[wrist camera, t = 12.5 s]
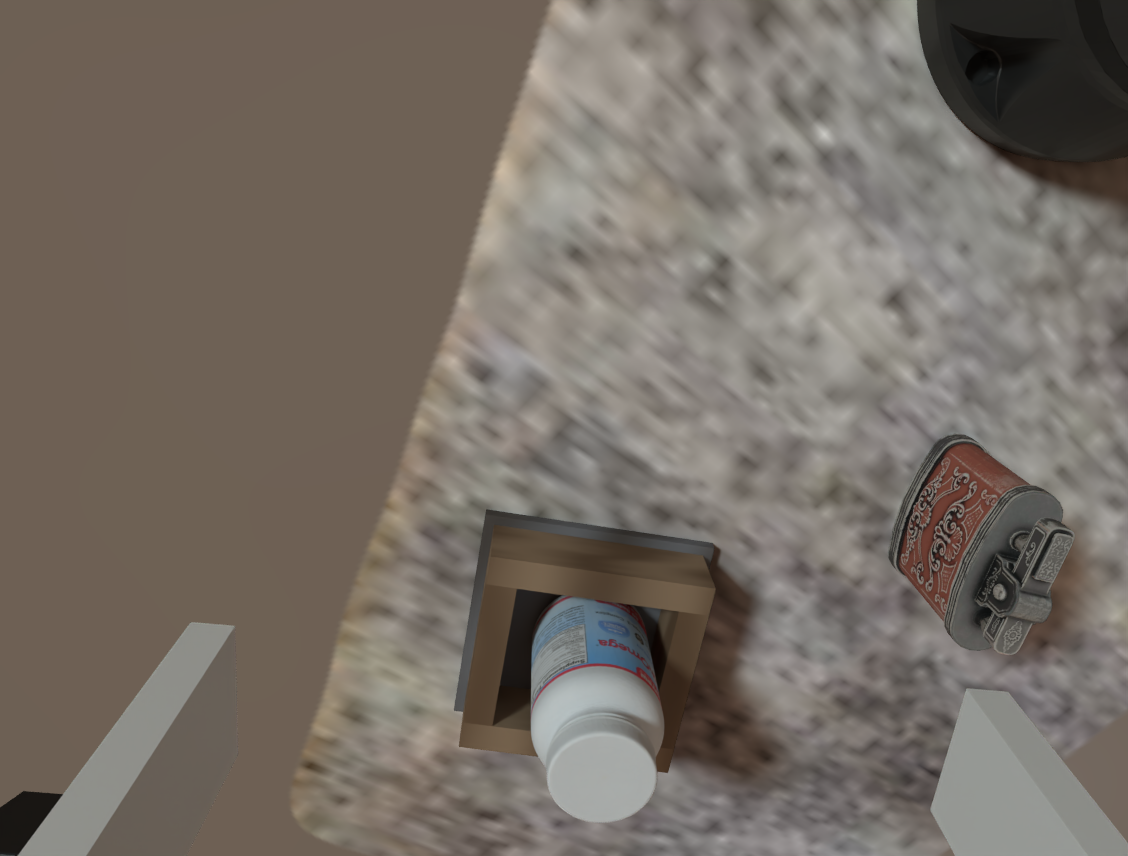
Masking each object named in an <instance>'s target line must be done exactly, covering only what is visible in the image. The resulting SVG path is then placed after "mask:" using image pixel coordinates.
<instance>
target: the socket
mask: <svg viewBox="0 0 1128 856" xmlns="http://www.w3.org/2000/svg"><path fill="white" fill-rule="evenodd" d="M713 552H714V546H713V544H712V543H708V542H701V541H694V540H688V539H681V538H674V537H667V536H661V535H654V534H647V533H640V532H634V531H627V530H620V529H614V528H607V527H600V526H593V525H587V524H580V523H573V522H566V521H560V520H553V519H546V518H539V517H533V516H526V515H519V514H513V513H506V512H499V511H492V510H486V515H485V521H484V527H483V533H482V540H481V546H480V552H479V558H478V564H477V570H476V577H475V583H474V589H473V595H472V601H471V607H470V614H469V620H468V626H467V632H466V638H465V645H464V651H463V657H462V663H461V669H460V675H459V682H458V688H457V694H456V700H455V707H454V711H461V712H463V718H462V726H461V734H460V742H459V747H465V748H473V749H481V750H489V751H497V752H505V753H513V754H521V755H529V756H537V757H538V755H537V753H536V751H535V749H534V746H533V742H532V737H531V668H532V635H533V630H534V626H535V624H536V621H537V619H538V618H539V616H540V614H541V613H542V612H543V610H544V609H545V608H546V607H547V606H548V605H549V604H550V603H552V602H553V601H554V600H555V599H557V598H558V597H560V596H561V595H566V596H573V597H580V598H587V599H594V600H601V601H608V602H615V603H622V604H629V605H633V606H634V607H635V608H636V609H637V611H638V612H639V614H640V616H641V618H642V620H643V622H644V625H645V629H646V633H647V638H648V643H649V648H650V653H651V657H652V662H653V667H654V672H655V677H656V682H657V686H658V691H659V696H660V701H661V706H662V711H663V717H664V736H663V741H662V744H661V747H660V750H659V752H658V754H657V756H656V766H657V772H665V773H668V770H669V767H670V763H671V759H672V755H673V751H674V747H675V744H676V740H677V736H678V732H679V728H680V725H681V721H682V717H683V713H684V709H685V705H686V702H687V698H688V694H689V690H690V686H691V683H692V679H693V675H694V671H695V667H696V663H697V660H698V656H699V652H700V648H701V644H702V640H703V637H704V633H705V629H706V625H707V621H708V618H709V614H710V610H711V606H712V602H713V598H714V595H715V591H716V588H715V585H714V583H713V580H712V577H711V575H710V572H709V567H710V563H711V560H712V556H713Z"/></svg>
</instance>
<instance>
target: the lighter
mask: <svg viewBox="0 0 1128 856" xmlns="http://www.w3.org/2000/svg"><path fill="white" fill-rule="evenodd" d="M1062 517H1063V509H1062V507H1061V504H1060V502H1059V501H1058V500H1057V499H1056V498H1055V497H1054V496H1053V495H1051V494H1050V493H1048V492H1047V491H1045V490H1044V489H1042V488H1039V487H1037V486H1033V485H1030V484H1029V483H1027V482H1026V481H1024V480H1023V479H1022V478H1020V477H1019V476H1017V475H1016V474H1015V473H1013V472H1012V471H1010V470H1009V469H1008V468H1006V467H1005V466H1004V465H1002V464H1001V463H999V462H998V461H997V460H995V459H994V458H992V457H991V456H990V455H988V454H987V452H986V450H985V449H984V448H983V447H982V446H981V445H980V444H979V443H978V442H976V441H975V440H974V439H972V438H970V437H968V436H966V435H962V434H952V435H947V436H945V437H943V438H941V439H939V440H938V441H937V442H936V443H935V444H934V445H933V447H932V448H931V450H930V452H929V453H928V455H927V456H926V458H925V459H924V461H923V462H922V464H921V465H920V467H919V468H918V470H917V472H916V474H915V476H914V478H913V480H912V482H911V484H910V485H909V487H908V489H907V491H906V493H905V495H904V497H903V500H902V503H901V506H900V509H899V512H898V515H897V517H896V520H895V523H894V527H893V531H892V536H891V541H890V546H889V550H888V558H889V560H890V562H891V564H892V565H893V566H894V568H895V569H896V570H897V571H898V572H899V573H900V574H901V575H902V576H903V577H906V578H908V579H909V580H910V582H911V583H912V584H913V585H914V586H915V588H916V589H917V590H918V591H919V592H920V594H921V595H922V596H923V597H924V598H925V600H926V601H927V602H928V603H929V605H930V606H931V607H932V608H933V609H934V611H935V612H936V613H937V614H938V615H939V617H940V618H941V619H942V620H943V621H944V626H945V629H946V631H947V633H948V634H949V635H950V636H951V637H952V639H953V640H954V641H955V642H956V643H957V644H958V645H959V646H961V647H963V648H965V649H968V650H976V651H980V650H985V649H989V648H991V647H993V648H994V649H995V651H996V652H998V653H1001V654H1005V655H1013V654H1015V653H1016V652H1018V651H1019V649H1020V648H1021V646H1022V644H1023V642H1024V640H1025V638H1026V636H1027V634H1028V632H1029V630H1030V628H1031V626H1032V625H1034V624H1036V623H1043V622H1044V621H1046V620H1047V618H1048V616H1049V614H1050V612H1051V610H1052V600H1051V597H1050V595H1051V592H1050V588H1051V586H1052V584H1053V582H1054V580H1055V578H1056V576H1057V574H1058V572H1059V570H1060V568H1061V566H1062V564H1063V562H1064V560H1065V558H1066V556H1067V554H1068V552H1069V550H1070V548H1071V546H1072V544H1073V541H1074V538H1075V535H1074V533H1073V531H1071V530H1070V529H1069V528H1067V527H1066V526H1065V525H1063V524H1062V523H1061V522H1062Z"/></svg>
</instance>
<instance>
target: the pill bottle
mask: <svg viewBox="0 0 1128 856" xmlns="http://www.w3.org/2000/svg"><path fill="white" fill-rule="evenodd" d="M663 736H664V717H663V711H662V706H661V701H660V696H659V691H658V686H657V682H656V677H655V672H654V667H653V662H652V657H651V653H650V648H649V643H648V638H647V633H646V629H645V625H644V622H643V620H642V618H641V616H640V614H639V612H638V611H637V609H636V608H635V607H634V606H633V605H629V604H622V603H615V602H608V601H601V600H594V599H587V598H580V597H573V596H566V595H561V596H560V597H558V598H557V599H555V600H554V601H553V602H552V603H550V604H549V605H548V606H547V607H546V608H545V609H544V610H543V612H542V613H541V614H540V616H539V618H538V619H537V621H536V624H535V626H534V630H533V635H532V668H531V737H532V742H533V746H534V749H535V751H536V753H537V755H538V757H539V759H540V760H541V762H542V763H543V764H544V766H545V767H546V771H547V783H548V788H549V791H550V794H551V796H552V797H553V799H554V801H555V802H556V803H557V805H558V806H560V807H561V808H562V809H563V810H564V811H565V812H567V813H568V814H570V815H572V816H573V817H576V818H578V819H581V820H584V821H588V822H595V823H606V822H614V821H618V820H622V819H624V818H627V817H629V816H631V815H633V814H635V813H636V812H638V811H639V810H640V809H642V808H643V807H644V806H645V805H646V804H647V802H648V801H649V800H650V798H651V797H652V795H653V793H654V791H655V788H656V784H657V766H656V756H657V754H658V752H659V750H660V747H661V744H662V741H663Z"/></svg>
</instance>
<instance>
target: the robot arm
mask: <svg viewBox="0 0 1128 856" xmlns="http://www.w3.org/2000/svg"><path fill="white" fill-rule="evenodd" d="M917 12H918V25H919V32H920V38H921V43H922V48H923V52H924V56H925V59H926V62H927V65H928V68H929V70H930V72H931V75H932V77H933V80H934V82H935V84H936V85H937V87H938V89H939V91H940V93H941V94H942V96H943V98H944V99H945V101H946V102H947V104H948V105H949V106H950V108H951V109H952V110H953V112H954V113H955V114H956V115H957V116H958V117H959V118H960V119H961V120H962V121H963V122H964V123H965V124H966V125H967V126H968V127H969V128H970V129H971V130H973V131H974V132H975V133H976V134H978V135H979V136H980V137H982V138H984V139H985V140H987V141H988V142H990V143H992V144H994V145H995V146H997V147H999V148H1002V149H1004V150H1006V151H1009V152H1011V153H1014V154H1017V155H1020V156H1025V157H1029V158H1033V159H1040V160H1051V161H1068V162H1096V161H1106V160H1112V159H1118V158H1122V157H1127V156H1128V0H917ZM235 644H236V643H235V626H230V625H218V624H207V623H194V622H191V623H190V624H189V625H188V627H187V628H186V629H185V631H184V632H183V634H182V635H181V636H180V638H179V639H178V640H177V642H176V643H175V644H174V646H173V647H172V648H171V650H170V651H169V652H168V654H167V655H166V656H165V658H164V659H163V660H162V662H161V663H160V664H159V666H158V667H157V669H156V670H155V671H154V673H153V674H152V675H151V677H150V678H149V679H148V681H147V682H146V684H145V685H144V686H143V687H142V689H141V690H140V691H139V693H138V694H137V696H136V697H135V698H134V700H133V701H132V702H131V704H130V705H129V706H128V708H127V709H126V710H125V712H124V713H123V714H122V716H121V717H120V718H119V720H118V721H117V723H116V724H115V725H114V727H113V728H112V729H111V731H110V732H109V733H108V735H107V736H106V737H105V739H104V740H103V741H102V743H101V744H100V746H99V747H98V748H97V749H96V751H95V752H94V754H93V755H92V756H91V758H90V759H89V760H88V762H87V763H86V764H85V766H84V767H83V768H82V770H81V771H80V772H79V774H78V775H77V776H76V778H75V779H74V781H73V782H72V783H71V785H70V786H69V787H68V789H67V790H66V791H65V793H64V794H51V793H39V792H26V791H23V792H22V793H21V794H19V795H17V796H16V797H15V798H13V799H12V800H10V801H9V802H7V803H6V804H5V805H3V806H2V807H0V856H187V854H188V852H189V850H190V848H191V846H192V844H193V842H194V840H195V838H196V836H197V834H198V832H199V830H200V828H201V826H202V824H203V822H204V821H205V819H206V817H207V815H208V813H209V811H210V809H211V807H212V805H213V803H214V801H215V799H216V797H217V795H218V793H219V791H220V789H221V787H222V785H223V783H224V781H225V779H226V777H227V775H228V773H229V771H230V769H231V768H232V765H233V764H234V762H235V760H236V758H237V756H238V735H237V734H238V731H237V687H236V646H235ZM930 810H931V812H932V814H933V816H934V818H935V820H936V821H937V823H938V825H939V827H940V829H941V831H942V832H943V834H944V836H945V838H946V840H947V842H948V843H949V845H950V847H951V849H952V851H953V852H954V854H955V856H1128V843H1127V841H1126V840H1125V839H1124V838H1123V836H1122V835H1121V834H1120V832H1119V831H1118V830H1117V829H1116V827H1115V826H1114V825H1113V824H1112V822H1111V821H1110V820H1109V819H1108V817H1107V816H1106V815H1105V814H1104V812H1103V811H1102V810H1101V809H1100V807H1099V806H1098V805H1097V803H1096V802H1095V801H1094V800H1093V798H1092V797H1091V796H1090V795H1089V793H1088V792H1087V791H1086V790H1085V788H1084V787H1083V786H1082V785H1081V783H1080V782H1079V781H1078V780H1077V778H1076V777H1075V776H1074V775H1073V773H1072V772H1071V771H1070V770H1069V768H1068V767H1067V766H1066V764H1065V763H1064V762H1063V761H1062V759H1061V758H1060V757H1059V756H1058V754H1057V753H1056V752H1055V751H1054V749H1053V748H1052V747H1051V746H1050V744H1049V743H1048V742H1047V741H1046V739H1045V738H1044V737H1043V736H1042V734H1041V733H1040V732H1039V730H1038V729H1037V728H1036V727H1035V725H1034V724H1033V723H1032V722H1031V720H1030V719H1029V718H1028V717H1027V715H1026V714H1025V713H1024V712H1023V710H1022V709H1021V708H1020V707H1019V705H1018V704H1017V703H1016V702H1015V700H1014V699H1013V698H1012V696H1011V695H1010V694H1009V693H1008V692H1003V691H991V690H979V689H968V688H967V689H966V692H965V696H964V699H963V702H962V706H961V709H960V712H959V716H958V719H957V722H956V726H955V729H954V732H953V736H952V739H951V742H950V746H949V749H948V752H947V756H946V759H945V762H944V766H943V769H942V772H941V776H940V779H939V782H938V786H937V789H936V792H935V796H934V799H933V802H932V806H931V809H930Z"/></svg>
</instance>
